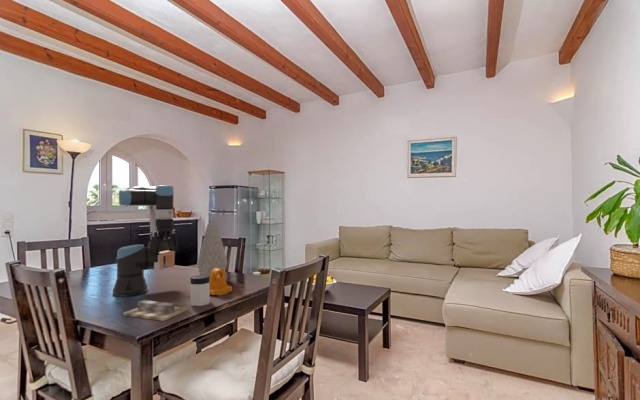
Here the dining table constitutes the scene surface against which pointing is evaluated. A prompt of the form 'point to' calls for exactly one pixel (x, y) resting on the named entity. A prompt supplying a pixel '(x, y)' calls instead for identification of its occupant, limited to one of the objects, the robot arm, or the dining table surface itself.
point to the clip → (169, 258)
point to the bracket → (218, 282)
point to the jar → (200, 290)
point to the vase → (211, 251)
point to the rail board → (152, 315)
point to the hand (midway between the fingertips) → (164, 267)
